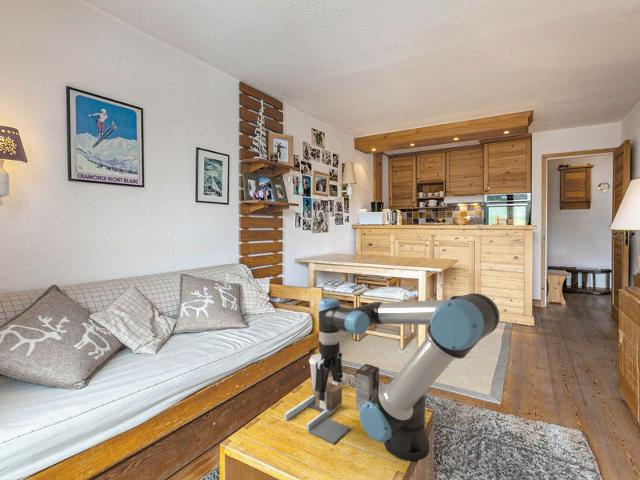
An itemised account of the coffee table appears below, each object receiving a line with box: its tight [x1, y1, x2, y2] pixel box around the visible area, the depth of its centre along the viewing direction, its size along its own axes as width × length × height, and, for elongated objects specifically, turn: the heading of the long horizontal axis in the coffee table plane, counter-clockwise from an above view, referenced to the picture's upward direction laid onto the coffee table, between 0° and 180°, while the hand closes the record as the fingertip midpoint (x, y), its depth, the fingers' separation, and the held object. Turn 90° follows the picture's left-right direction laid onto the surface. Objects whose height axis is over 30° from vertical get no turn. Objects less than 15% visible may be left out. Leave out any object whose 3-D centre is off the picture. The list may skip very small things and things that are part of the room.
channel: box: [283, 389, 338, 432], centre depth 137 cm, size 12×19×5 cm, turn 143°
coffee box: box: [355, 363, 380, 411], centre depth 143 cm, size 9×6×16 cm
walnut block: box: [315, 381, 343, 411], centre depth 125 cm, size 7×7×6 cm
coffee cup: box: [308, 353, 327, 391], centre depth 158 cm, size 10×10×15 cm
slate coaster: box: [308, 417, 351, 445], centre depth 126 cm, size 11×11×1 cm
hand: (329, 403), depth 125 cm, fingers closed on walnut block, 7 cm apart
